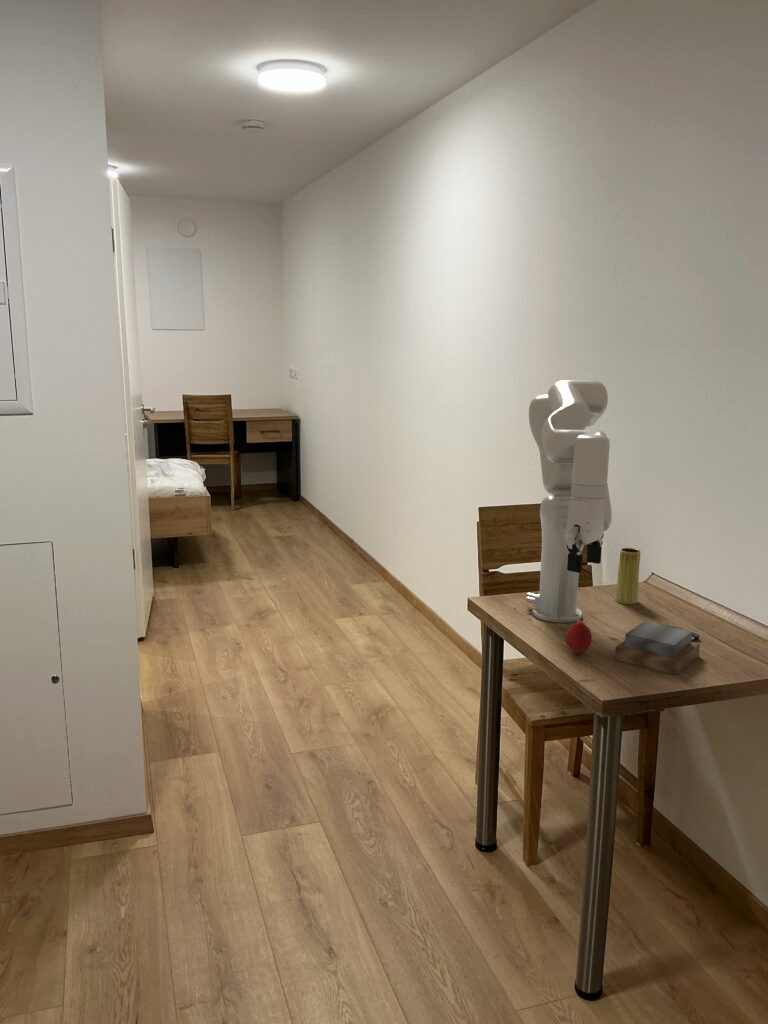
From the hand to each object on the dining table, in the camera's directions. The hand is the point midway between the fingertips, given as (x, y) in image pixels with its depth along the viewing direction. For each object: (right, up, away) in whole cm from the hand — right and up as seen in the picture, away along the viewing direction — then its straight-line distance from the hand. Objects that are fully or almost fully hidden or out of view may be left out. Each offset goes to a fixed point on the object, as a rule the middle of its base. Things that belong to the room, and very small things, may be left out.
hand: (584, 567), depth 194 cm
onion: (0, -20, +4) cm, 21 cm away
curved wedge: (+25, -18, +17) cm, 36 cm away
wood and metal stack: (+17, -21, +2) cm, 27 cm away
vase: (+21, -12, +43) cm, 49 cm away
